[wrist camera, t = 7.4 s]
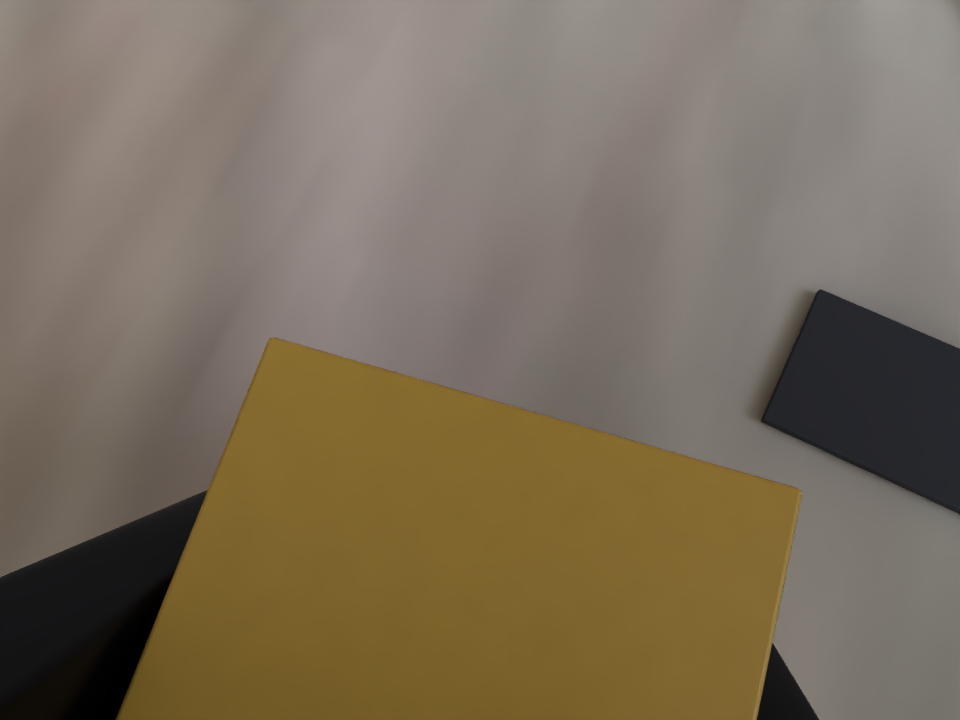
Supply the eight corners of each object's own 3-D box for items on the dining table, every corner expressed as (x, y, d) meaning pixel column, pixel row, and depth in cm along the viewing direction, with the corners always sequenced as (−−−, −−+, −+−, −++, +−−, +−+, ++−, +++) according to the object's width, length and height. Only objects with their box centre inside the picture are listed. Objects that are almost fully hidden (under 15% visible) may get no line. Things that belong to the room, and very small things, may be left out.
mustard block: (644, 571, 16) (804, 489, 7) (571, 863, 14) (652, 1252, 5) (409, 499, 16) (267, 334, 7) (317, 771, 15) (7, 981, 6)
